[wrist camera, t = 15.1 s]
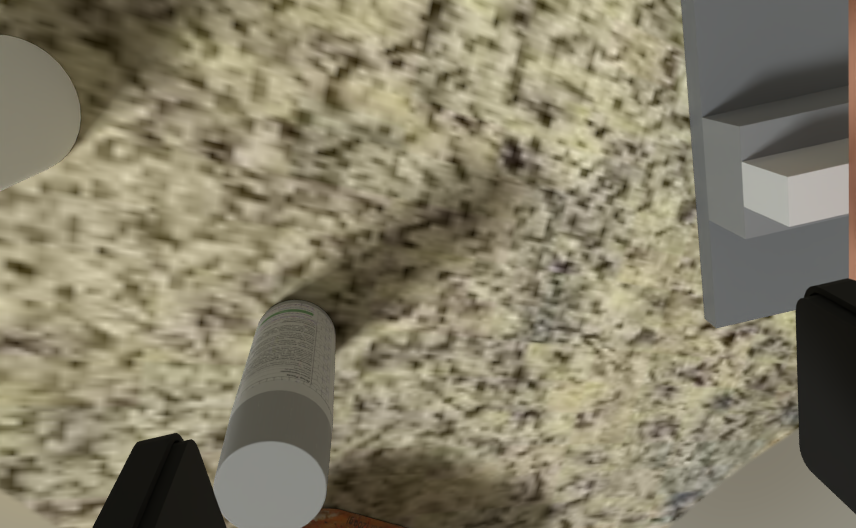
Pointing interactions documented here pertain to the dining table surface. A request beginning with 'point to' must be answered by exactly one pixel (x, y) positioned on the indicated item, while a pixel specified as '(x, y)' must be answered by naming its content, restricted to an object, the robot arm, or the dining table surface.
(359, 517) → the tin
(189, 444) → the robot arm
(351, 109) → the dining table surface
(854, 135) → the beam
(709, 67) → the ridge stand
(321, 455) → the container
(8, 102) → the cylindrical container
